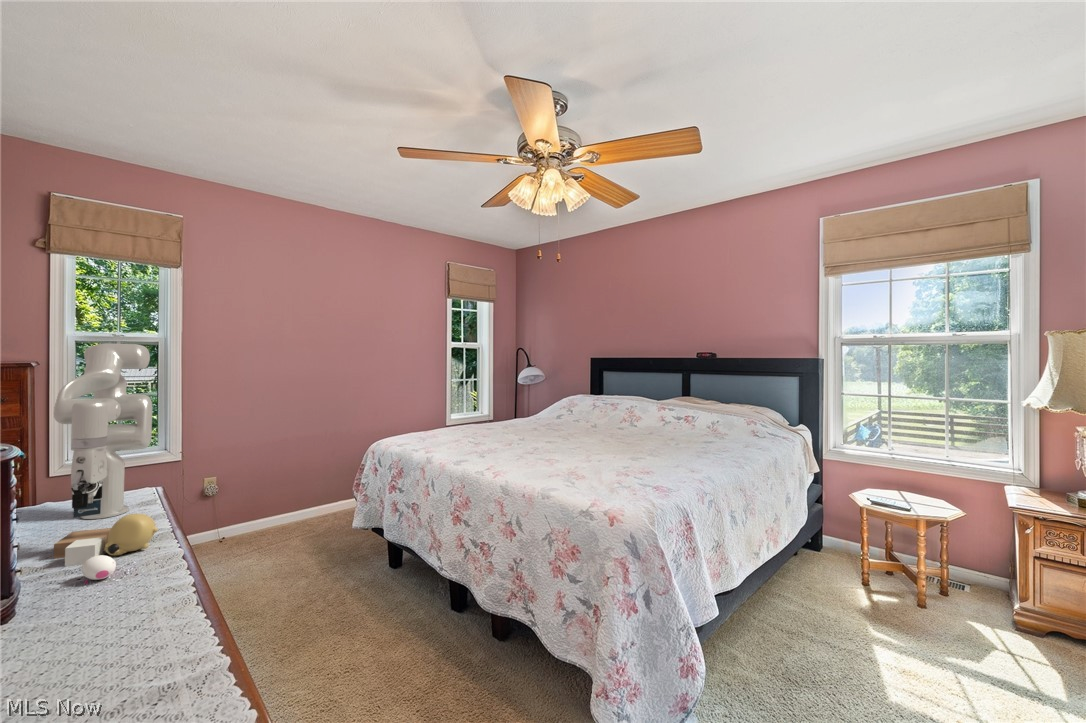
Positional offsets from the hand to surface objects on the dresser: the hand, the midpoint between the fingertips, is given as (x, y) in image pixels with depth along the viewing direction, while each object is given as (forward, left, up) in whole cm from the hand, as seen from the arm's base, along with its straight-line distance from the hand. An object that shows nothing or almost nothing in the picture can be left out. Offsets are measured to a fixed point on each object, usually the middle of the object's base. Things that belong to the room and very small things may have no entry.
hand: (87, 503), depth 133 cm
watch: (0, 0, -3) cm, 3 cm away
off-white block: (+9, +3, -14) cm, 17 cm away
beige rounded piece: (+5, +12, -14) cm, 19 cm away
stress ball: (+23, +11, -14) cm, 29 cm away
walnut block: (0, 0, -13) cm, 13 cm away
